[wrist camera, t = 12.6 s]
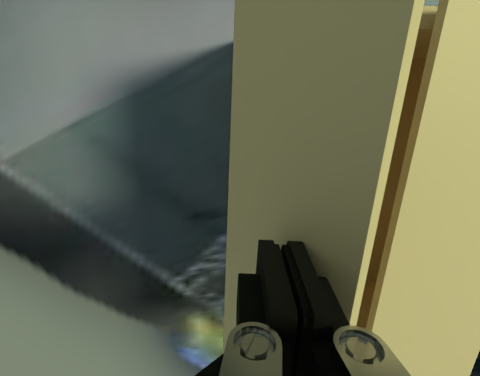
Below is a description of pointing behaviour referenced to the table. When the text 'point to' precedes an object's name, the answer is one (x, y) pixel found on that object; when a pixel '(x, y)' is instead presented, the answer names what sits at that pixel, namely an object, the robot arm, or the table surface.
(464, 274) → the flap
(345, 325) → the robot arm
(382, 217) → the cardboard box
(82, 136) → the table surface
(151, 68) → the table surface
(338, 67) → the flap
